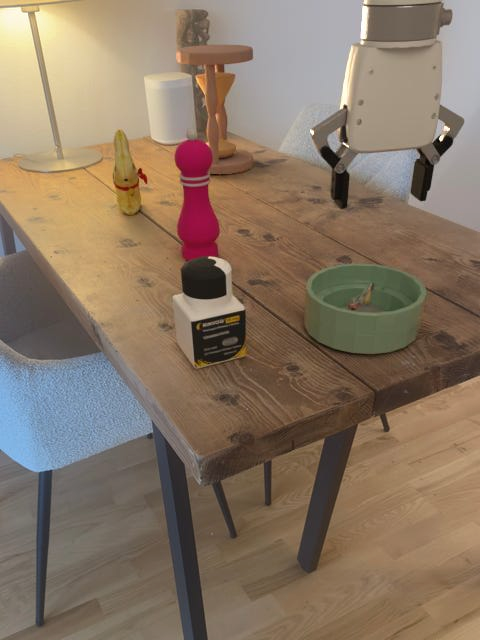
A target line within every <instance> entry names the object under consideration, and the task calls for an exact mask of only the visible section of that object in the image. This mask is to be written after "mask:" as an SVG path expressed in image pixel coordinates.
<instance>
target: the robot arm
mask: <svg viewBox="0 0 480 640" xmlns="http://www.w3.org/2000/svg"><path fill="white" fill-rule="evenodd" d="M444 5H445V3H444V2H443V0H363V5H362V13H361V14H362V17H361V27H360V30H361V31H360V40H359V42H357V43H356V42H355V43H352V44H351V46H350V50H349V54H348V58H347V63H346V67H345V74H344V78H343V84H342V91H341V96H340V97H341V98H340V104H339V110H337V111H336V112H334V113H333V114H331V115H330V116H327V118H326V119H324V120H322V121H321V122H319V123H317V124H316V125H315V126H313V127H312V128H311V129H310V133H309V135H310V137H311V139H312V141H313V143H314V146H315V148H316V151H317V154H318V155H320V157H321V158H322V159H323V160H324V161H325V162H326V164H328V165H329V167H330V168H331V179H330V199H331V200H332V201H333V202H334V204H335V205H336V206H337V207H338V208H339V210H345V209H346V208H348V204H349V203H348V202H349V189H350V177H351V174H350V173H349V172H348V171H347V169H348V167H349V166H350V165H351V164H352V162H353V161H354V160H355V158H356V157H357V156H358V155H360V154H377V153H391V152H399V151H400V152H401V151H410V150H416V152H417V153H418V155H419V158H416V159H415V161H414V165H413V171H412V177H411V183H410V195H412V196H413V197H414V198H415V199H416V200H418V201H419V202H426V201H427V197H428V192H429V191H430V190H431V187H432V181H433V175H434V171H435V170H434V169H435V165H437V164H439V162H440V161H441V157H442V156H444V154H445V153H446V152H447V151H448V150H449V149H450V148H451V147H452V146H453V144H454V140H455V138H457V136H458V134H459V133H460V131H461V129H462V128H463V126H464V124H465V118H463V116H460V115H458V114H457V113H456V112H454V111H452V110H450V109H449V108H448V107H445V106H444V105H442V104H441V97H442V85H443V84H442V83H443V47H442V46H443V43H442V41H441V40H438V39H437V38H438V36H439V35H440V32H441V31H440V30H441V28H443V27H444V26H450V25H451V23H452V20H453V9H449V8H448V9H446V8H445V7H444ZM439 121H441V122H442V123H444V128H443V130H442V132H441V134H439V135H438V136H437V137H436V138H435V136H436V134H437V133H436V132H437V128H438V122H439ZM336 131H337V140H338V142H339V143H340V145H339V146H338V147H337V148H336V149H335V151H333V149H332V148H331V146H330V143H329V141H328V138H329V136H330V135H331V134H333V133H335V132H336Z"/></svg>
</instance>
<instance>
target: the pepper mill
mask: <svg viewBox="0 0 480 640" xmlns="http://www.w3.org/2000/svg"><path fill="white" fill-rule="evenodd" d="M198 133H199V132H198V131H197V130H196V129H194V128H189V129H187V131H186V134H185V135H186V136H185V137H186V140H184V141H182V142H180V143H179V144H178V145H177V146H176V148H175V151H174V164H175V167H176V168H177V169H178V170H179V171H180V173H179V174H178V177H179V184H180V185H181V186H182V191H183V202H182V207H181V210H180V213H179V217H178V221H177V225H176V226H177V227H176V230H177V231H176V232H177V233H176V234H177V236H178V238H179V240H180V241H181V242H182V243H183V244H182V245H181V256H182V258H183V259H184V260H186V261H189V260H192V259H194V258H198V257H205V256H210V257H217V258H218V256H219V247H218V246H219V245H218V243H217V242H216V241H217V240H218V238H219V236H220V232H221V231H220V230H221V229H220V223H219V220H218V217H217V216H216V213H215V211H214V208H213V206H212V204H211V200H210V195H209V184H210V183H211V181H212V180H211V178H210V177H211V175H210V173H209V172H208V170H209V168H210V167H211V165H212V162H213V156H212V151H211V149H210V147H209V146H208V145H207V144H206V143H207V142H205V141H203V140H202V139H199V138H198V137H199V134H198Z"/></svg>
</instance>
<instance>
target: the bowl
mask: <svg viewBox="0 0 480 640" xmlns="http://www.w3.org/2000/svg"><path fill="white" fill-rule="evenodd" d="M371 283H374V284H375V285H374V291H371V290H370V291H371V301H370V303H371V304H374V305H376V306H378V307H379V308H380V312H378V313H371V312H356V311H351V310H349V309H348V306H349V304H350V303H351V302H352V303H354V302H357V301H356V300H359V298H360V297H361V296H362V295H363V294H364V292H365V290H364V289H366V290H368V288H370V284H371ZM363 291H364V292H363ZM362 293H363V294H362ZM367 293H368V292H367V291H366V293H365V294H364V295H363V296H364V297H365V296H366V294H367ZM361 294H362V295H361ZM358 295H359V296H358ZM427 295H428V294H427V289H426V285H425V284H424V283H423V282H422V281H421V280H420V279H419V278H418V277H416V276H414V275H413V274H411V273H409V272H407V271H406V270H405V271H404V270H401V269H399V268H395V267H392V266H389V265H388V266H387V265H382V264H375V263H358V262H357V263H356V262H355V263H344V264H343V263H342V264H337V265H332V266H328V267H324V268H322V269H320V270H318V271H316V272H314V273H313V274H312V275H311V276H310V277H309V278H308V280H306V286H305V300H304V301H305V302H304V317H303V318H304V319H303V326H304V328H305V330H306V332H307V334H308V335H309V336H310V337H311V338H313V339H314V340H315V341H316V342H317V343H319V344H322V345H325V346H326V347H329V348H332V349H334V350H337V351H342V352H346V353H351V354H363V355H377V354H378V355H379V354H386V353H392V352H394V351H397V350H401V349H404V348H406V347H407V346H409V345H410V344H412V343H413V342H414V341H416V339H417V337H418V335H419V333H420V329H421V324H422V320H423V314H424V311H425V306H426V301H427ZM356 296H357V297H356ZM353 297H354V298H353ZM352 298H353V299H355V298H356V300H354V302H353V299H352ZM360 302H361V301H360ZM360 302H359V303H360Z"/></svg>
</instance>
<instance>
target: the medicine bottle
mask: <svg viewBox="0 0 480 640" xmlns="http://www.w3.org/2000/svg"><path fill="white" fill-rule="evenodd" d="M232 273H233V270H232V266H231V264H230V262H228V261H227V260H226V259H223V258H220V257H218V256H217V257H210V256H205V257H198V258H194V259H192V260H189V261H188V260H186V262H184V263H183V265H182V266H181V267H180V278H181V290H182V293H177V294H173V296H172V297H171V299H172V307H173V318H174V327H175V328H174V329H175V336H176V344H177V345H178V347H179V349H180V350H181V352H182V353H183V354H184V356H185V357H186V358H187V360H188V361H189V362H190V364H191V365H192V367H193V368H194V369H195V370H198V369H202V368H207V367H211V366H214V365H218V364H223V363H225V362H229V361H230V362H231V361H234V360H239V359H241V358H245V357H246V356H247V319H246V318H247V317H246V316H247V315H246V306H245V305H244V304H243V303H242V302H241V301H239V299H237V297H236V296H235V295H234V294H233V274H232Z"/></svg>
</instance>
